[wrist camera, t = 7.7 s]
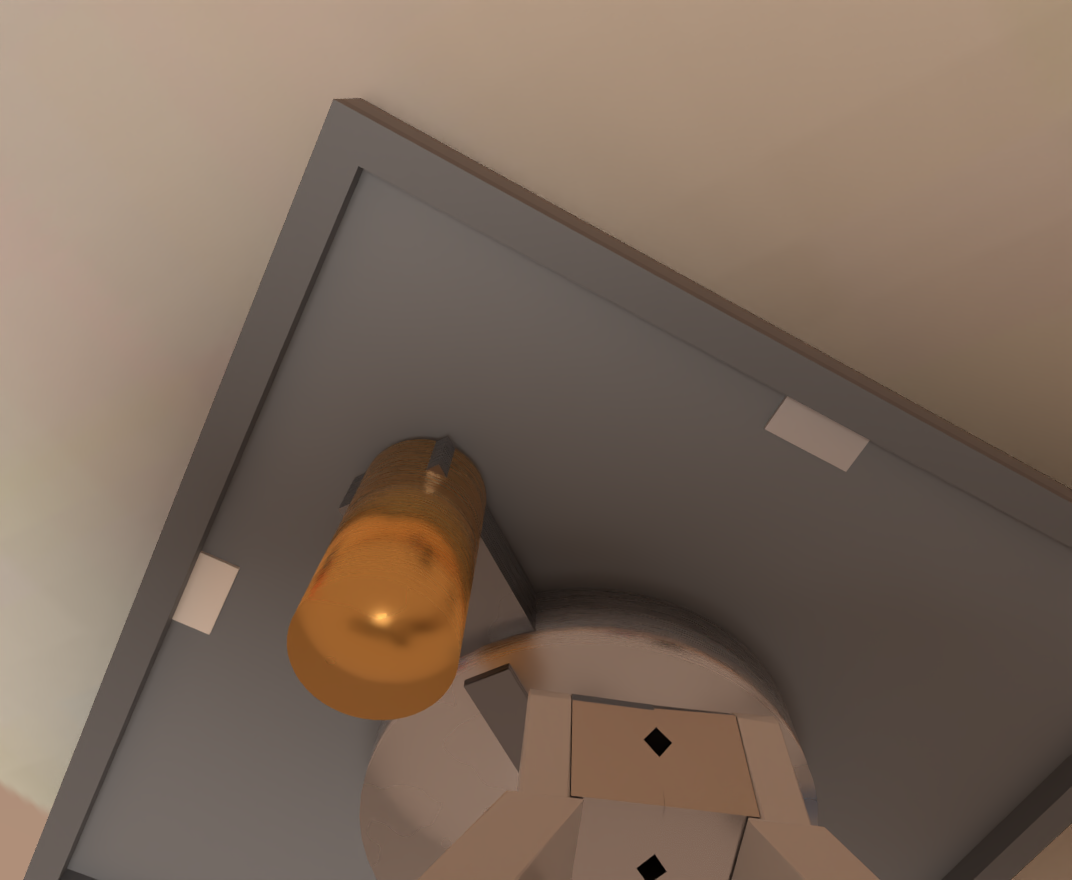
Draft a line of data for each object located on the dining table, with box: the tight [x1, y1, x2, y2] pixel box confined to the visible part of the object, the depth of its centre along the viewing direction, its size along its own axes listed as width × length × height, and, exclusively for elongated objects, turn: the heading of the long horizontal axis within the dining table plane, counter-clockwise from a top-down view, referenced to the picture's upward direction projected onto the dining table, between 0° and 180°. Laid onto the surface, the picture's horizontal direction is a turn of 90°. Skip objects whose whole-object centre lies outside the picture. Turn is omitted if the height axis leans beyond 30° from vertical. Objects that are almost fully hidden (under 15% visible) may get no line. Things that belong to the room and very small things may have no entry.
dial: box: [287, 436, 818, 880], centre depth 17 cm, size 14×10×5 cm
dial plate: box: [24, 98, 1072, 880], centre depth 21 cm, size 22×22×2 cm
